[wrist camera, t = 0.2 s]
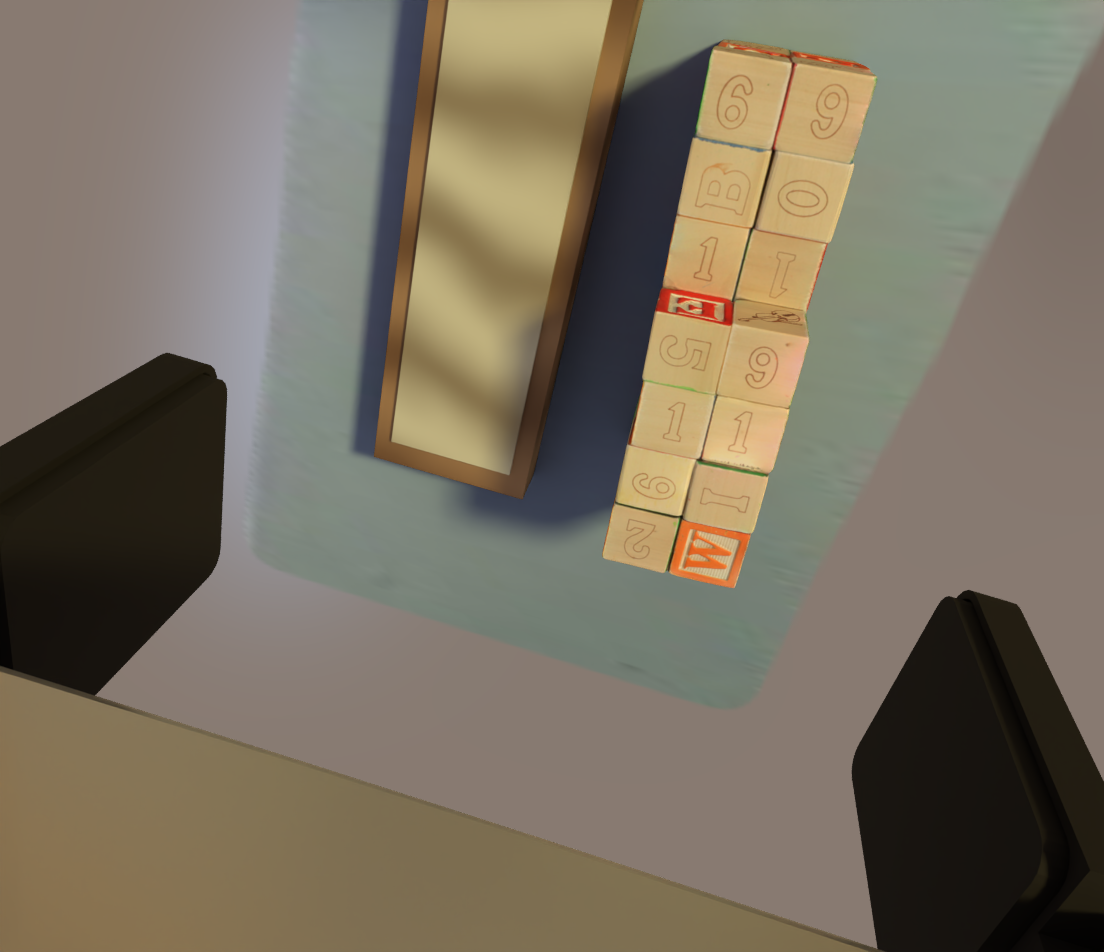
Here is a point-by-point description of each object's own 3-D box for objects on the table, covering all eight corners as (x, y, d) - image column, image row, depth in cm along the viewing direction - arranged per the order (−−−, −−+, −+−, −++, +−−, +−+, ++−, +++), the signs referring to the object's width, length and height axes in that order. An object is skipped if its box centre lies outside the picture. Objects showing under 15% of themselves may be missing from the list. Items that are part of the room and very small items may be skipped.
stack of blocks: (719, 34, 39) (709, 48, 29) (857, 59, 39) (899, 82, 28) (629, 443, 50) (598, 562, 40) (736, 467, 50) (734, 594, 39)
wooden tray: (458, -81, 39) (436, -87, 36) (651, -33, 39) (644, -36, 36) (392, 434, 53) (371, 459, 50) (533, 474, 52) (521, 502, 49)
